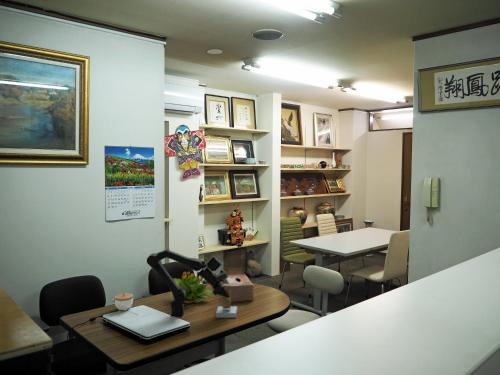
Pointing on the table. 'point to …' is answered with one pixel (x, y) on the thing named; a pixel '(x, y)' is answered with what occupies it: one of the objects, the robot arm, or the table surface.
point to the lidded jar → (123, 301)
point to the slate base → (226, 312)
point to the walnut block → (226, 300)
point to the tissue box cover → (240, 287)
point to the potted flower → (192, 288)
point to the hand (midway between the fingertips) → (229, 295)
